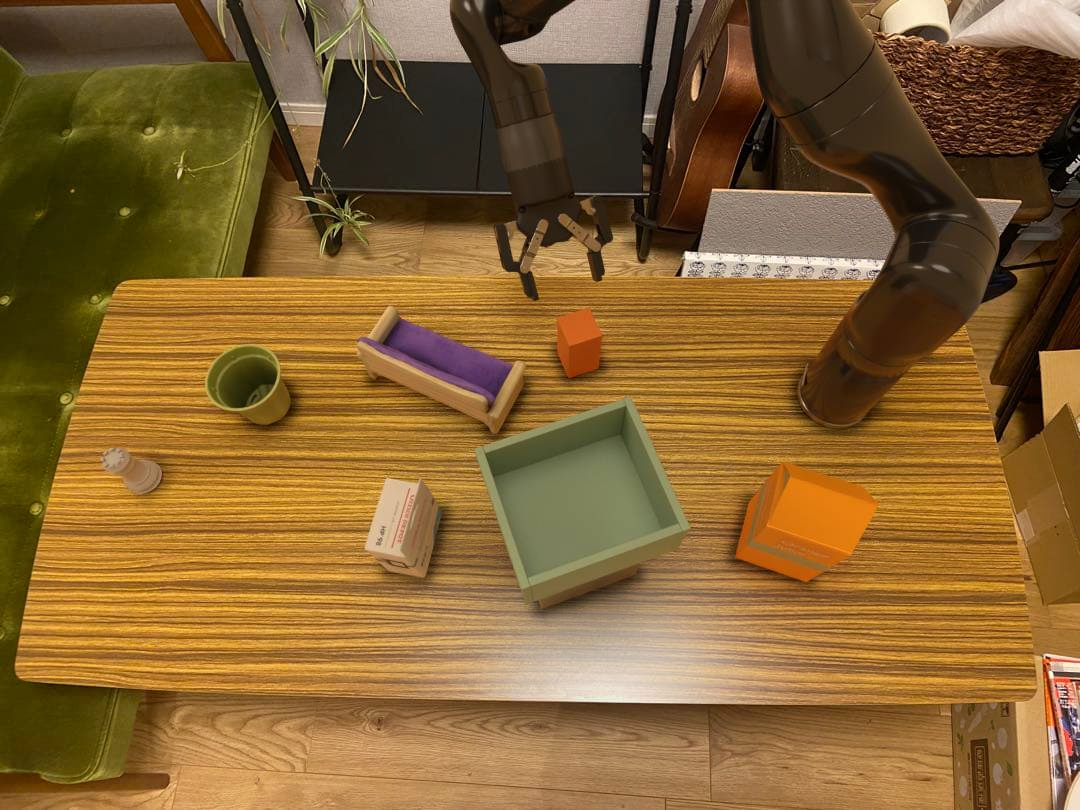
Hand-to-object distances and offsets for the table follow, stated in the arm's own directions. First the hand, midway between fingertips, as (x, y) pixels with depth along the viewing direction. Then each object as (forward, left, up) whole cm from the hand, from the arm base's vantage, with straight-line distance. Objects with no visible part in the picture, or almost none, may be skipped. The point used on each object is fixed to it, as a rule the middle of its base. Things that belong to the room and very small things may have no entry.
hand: (566, 290), depth 90 cm
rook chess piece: (+59, +2, -11) cm, 60 cm away
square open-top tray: (+10, +30, +8) cm, 32 cm away
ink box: (+28, +22, -11) cm, 37 cm away
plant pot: (+42, -3, -11) cm, 44 cm away
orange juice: (-14, +37, -11) cm, 41 cm away
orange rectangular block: (0, +5, -10) cm, 11 cm away
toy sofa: (+18, +2, -11) cm, 21 cm away
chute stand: (+10, +30, -10) cm, 33 cm away
